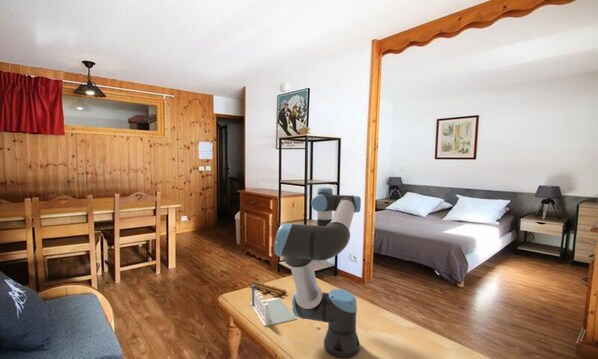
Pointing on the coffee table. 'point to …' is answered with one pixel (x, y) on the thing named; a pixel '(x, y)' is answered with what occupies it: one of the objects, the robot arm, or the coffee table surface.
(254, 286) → the corner post
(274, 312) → the board
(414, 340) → the coffee table surface
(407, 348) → the coffee table surface
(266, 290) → the decorative fence
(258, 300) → the fence panel
